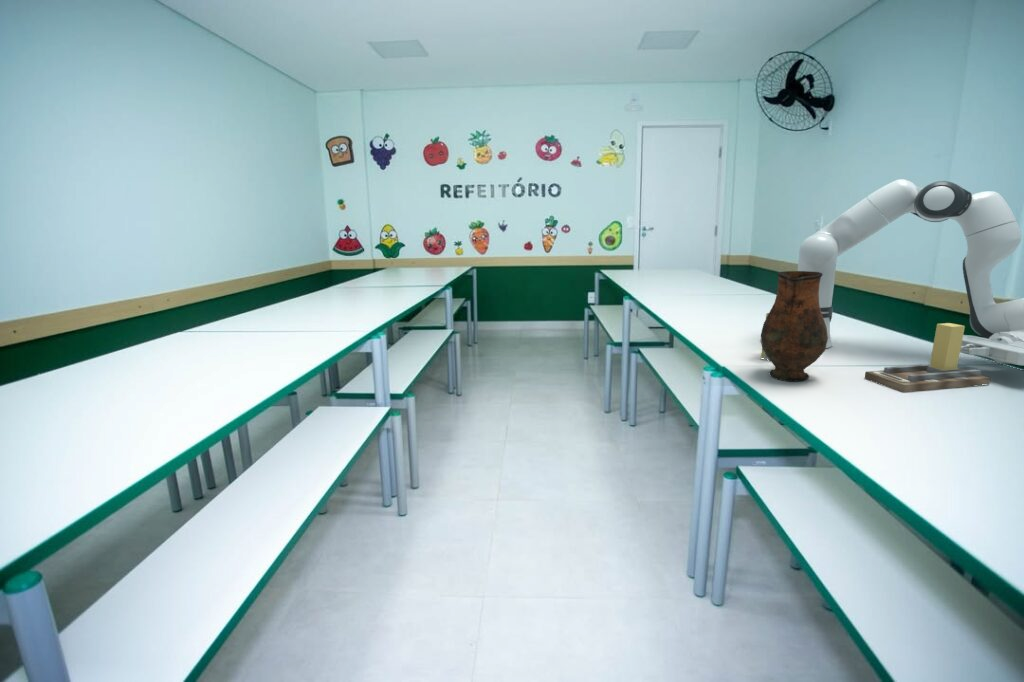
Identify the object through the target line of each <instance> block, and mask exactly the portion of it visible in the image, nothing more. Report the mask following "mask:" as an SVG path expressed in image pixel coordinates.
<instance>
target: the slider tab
mask: <svg viewBox="0 0 1024 682" xmlns="http://www.w3.org/2000/svg"><path fill="white" fill-rule="evenodd" d="M965 328H966V326H965V325H962V324H957V323H951V322H945V323H937V324H936V327H935V329H936V330H935V332H934V333H935V334H934V335H935V336H934V338H933V345H932V351H931V356H930V363H929V364H930V366H927V372H930V373H939V372H951V371H959V369H960V368H958V364H959V359H960V353H961V352H960V349H961V344H962V339H963V335H965V334H964V332H965Z"/></svg>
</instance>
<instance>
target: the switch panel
mask: <svg viewBox="0 0 1024 682" xmlns="http://www.w3.org/2000/svg"><path fill="white" fill-rule="evenodd" d="M927 366H930V363H922V364H910V365H898V366H887V367H886V366H885V367H884V369H881V370H871V371H870V370H869V371H865V373H864V379H865V378H866V380H867V379H869V380H868V381H870V380H872V381H871V382H873V381H874V383H876V382H877V383H876V384H879V383H880V384H879V385H881V384H882V386H884V385H885V386H884V387H887V388H890V389H893V390H896V391H898V392H901V393H911V392H914V393H915V392H922V391H923V392H924V391H935V390H946V389H957V388H956V387H959V388H966V387H965V386H971V387H975V386H974V385H982V384H989V385H990V381H991V377H989V376H985V375H981V372H982V370H979V369H965V370H964V369H961V368H958V369H959V371H951V372H939V373H930V372H927ZM982 386H983V385H982Z"/></svg>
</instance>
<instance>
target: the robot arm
mask: <svg viewBox="0 0 1024 682" xmlns="http://www.w3.org/2000/svg"><path fill="white" fill-rule="evenodd" d="M909 213H910V214H913V215H915V216H916V217H918V218H920V219H922V220H923V221H927V222H930V223H941V222H944V221H948V220H949V219H951V220H954V221H956V222H957V223H958V224H959V226H960V227H961V230H962V231H963V234H964V237H965V240H966V244H967V245H966V246H967V251H966V255H965V257H963V258H964V259H963V260H962V274H963V279H964V285H965V290H966V295H967V301H968V304H969V325H970V327H971V329H972V330H973V331H974V333H976V334H977V335H979V336H976V335H971V334H969V335H967V334H963V339H962V344H961V349H960V353H962V354H966V355H970V356H979V357H983V358H988V359H991V360H992V361H994V362H996V363H999V364H1005V365H1006V364H1007V365H1008V364H1011V365H1015V366H1016V365H1017V366H1024V297H1022V298H1021V297H1020V298H1017V299H1013V300H1009V301H1004V302H999V303H996V302H995V299H994V295H993V290H992V289H993V288H992V285H991V284H992V283H991V279H990V277H991V273H992V271H993V269H994V268H995V267H996V266H998V264H1000V263H1001V262H1003V261H1004V260H1005V259H1007V258H1008V257H1010V256H1011V255H1012V254H1013V253H1014V252H1015V251H1016V250H1017V249H1018V247H1019V246H1020V244H1021V242H1022V231H1021V229H1020V226H1019V224H1018V222H1017V218H1016V217H1015V215H1014V213H1013V210H1012V209H1011V207H1010V206H1009V204H1008V203H1007V201H1006V200H1005V198H1003V196H1002V194H1000V193H999V192H997V191H992V190H988V191H987V190H986V191H980V192H976V193H971V191H968V190H967V189H965V188H963V187H962V186H961V185H959V184H956V183H954V182H952V181H947V180H942V181H941V180H939V181H934V182H932V183H930V184H929V183H928V184H927V185H925V186H924V187H919V186H917V185H916V184H915V183H913V182H912V181H911V180H908V179H904V178H899V179H896V180H893V181H891V182H890V183H888V184H885V185H883V186H882V187H880V188H878V189H877V190H874V191H873V192H871V193H870V194H869V195H867V196H866V197H865V198H863V199H861V200H860V201H859V202H858V203H855V204H854V205H852V207H850V208H849V209H847V210H846V211H844V212H843V213H841V214H840V215H838V216H837V217H836V218H834V219H833V220H832V221H831V222H829V223H828V224H826V225H825V226H823V227H822V228H820V229H819V230H818V231H816V232H814V234H811V235H810V236H808V237H807V238H805V239H804V240H803V242H801V244H800V246H799V249H798V261H797V262H798V263H797V271H810V272H820V273H822V274H823V275H822V276H821V279H820V284H819V306H820V309H821V313H822V316H823V319H824V321H825V324H826V327H827V334H828V340H827V344H826V348H825V349H828V348H832V346H833V344H832V338H831V322H832V318H833V311H834V309H833V308H834V306H832V302H833V295H834V289H835V288H834V287H835V279H836V278H835V277H836V271H837V270H836V269H837V259H838V257H839V256H841V255H843V254H844V253H845V252H847V251H849V250H850V249H852V248H853V247H855V246H857V245H858V244H860V243H862V242H863V241H865V240H867V239H868V238H870V237H871V236H873V235H874V234H876V233H877V232H879V231H880V230H882V229H883V228H885V227H886V226H888V225H890V224H891V223H893V222H894V221H896V220H897V219H899V218H900V217H902V216H904V215H906V214H909ZM980 336H981V337H980Z"/></svg>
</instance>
